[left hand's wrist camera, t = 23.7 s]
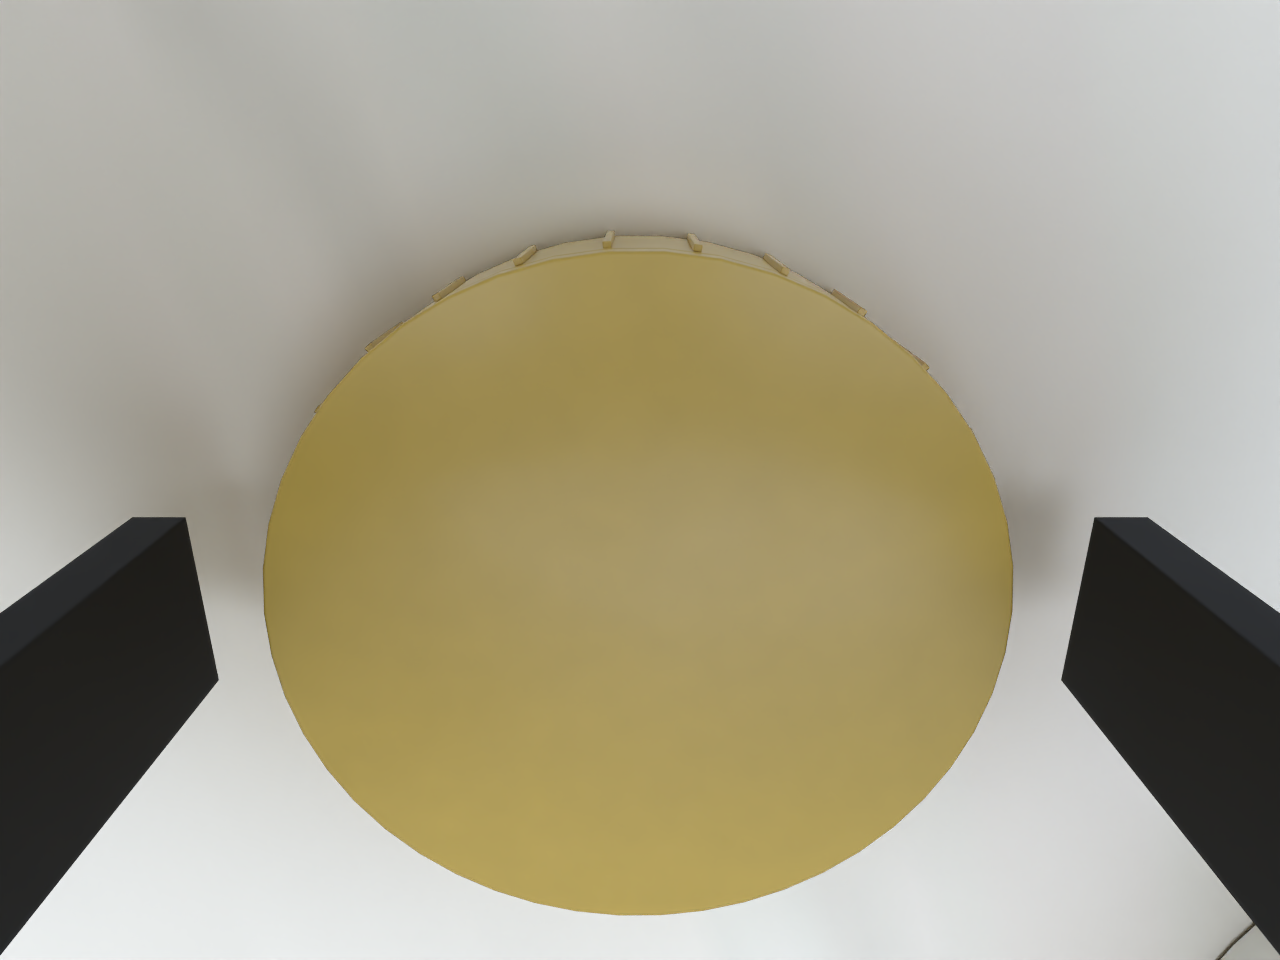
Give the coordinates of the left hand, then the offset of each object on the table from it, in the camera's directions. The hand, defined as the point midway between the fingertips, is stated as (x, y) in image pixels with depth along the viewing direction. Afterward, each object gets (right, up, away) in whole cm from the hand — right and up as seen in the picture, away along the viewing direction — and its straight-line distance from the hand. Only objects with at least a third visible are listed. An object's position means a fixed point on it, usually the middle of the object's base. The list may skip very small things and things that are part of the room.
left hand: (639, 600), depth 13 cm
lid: (0, 0, 0) cm, 0 cm away
